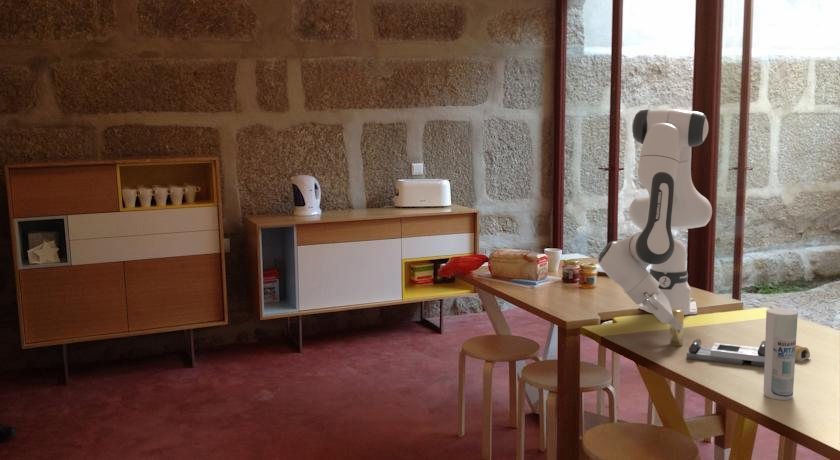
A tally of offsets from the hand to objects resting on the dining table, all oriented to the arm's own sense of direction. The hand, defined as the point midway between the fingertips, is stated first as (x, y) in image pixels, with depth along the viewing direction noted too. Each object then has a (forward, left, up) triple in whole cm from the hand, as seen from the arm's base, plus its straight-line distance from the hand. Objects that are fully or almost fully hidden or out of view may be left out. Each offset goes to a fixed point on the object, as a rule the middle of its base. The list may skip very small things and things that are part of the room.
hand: (679, 324), depth 222 cm
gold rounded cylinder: (0, -1, -6) cm, 6 cm away
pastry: (-1, +29, -6) cm, 30 cm away
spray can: (+32, +28, -6) cm, 43 cm away
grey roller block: (+8, +14, -6) cm, 18 cm away
